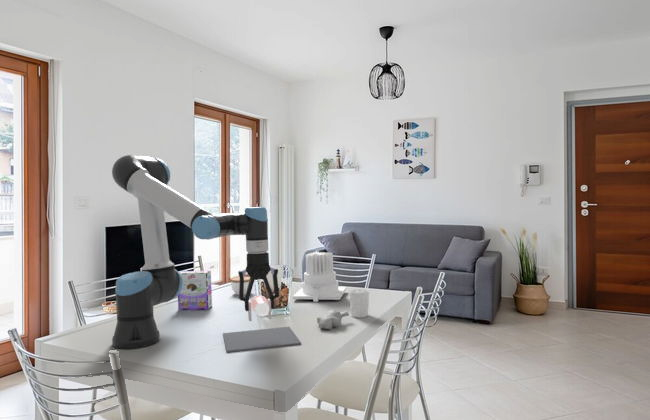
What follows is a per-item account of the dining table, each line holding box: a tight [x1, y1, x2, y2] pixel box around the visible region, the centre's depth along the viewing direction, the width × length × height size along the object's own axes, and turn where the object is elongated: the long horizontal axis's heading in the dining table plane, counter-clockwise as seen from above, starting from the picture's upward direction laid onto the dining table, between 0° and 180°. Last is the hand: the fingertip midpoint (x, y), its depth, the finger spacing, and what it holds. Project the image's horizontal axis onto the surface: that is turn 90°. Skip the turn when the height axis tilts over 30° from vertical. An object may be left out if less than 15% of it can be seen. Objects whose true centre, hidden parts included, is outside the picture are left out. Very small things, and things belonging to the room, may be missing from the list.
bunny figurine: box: [316, 309, 350, 330], centre depth 177 cm, size 10×5×15 cm
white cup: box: [349, 288, 370, 319], centre depth 190 cm, size 8×8×10 cm
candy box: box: [177, 270, 213, 311], centre depth 209 cm, size 14×6×16 cm, turn 84°
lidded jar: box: [230, 276, 250, 296], centre depth 238 cm, size 11×11×9 cm
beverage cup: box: [250, 294, 269, 318], centre depth 161 cm, size 6×6×14 cm
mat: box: [222, 326, 302, 354], centre depth 162 cm, size 20×24×1 cm
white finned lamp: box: [292, 251, 347, 303], centre depth 226 cm, size 25×22×21 cm
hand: (259, 319), depth 162 cm, fingers closed on beverage cup, 6 cm apart
